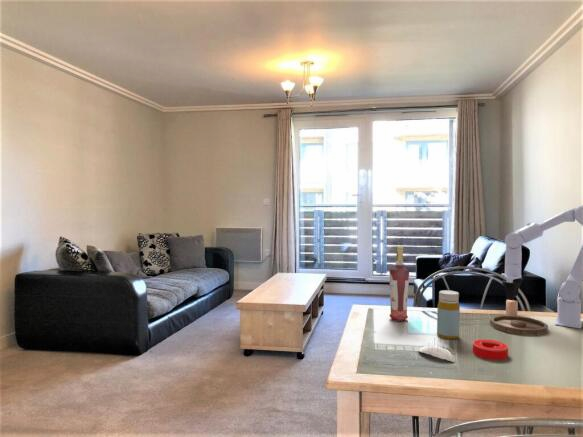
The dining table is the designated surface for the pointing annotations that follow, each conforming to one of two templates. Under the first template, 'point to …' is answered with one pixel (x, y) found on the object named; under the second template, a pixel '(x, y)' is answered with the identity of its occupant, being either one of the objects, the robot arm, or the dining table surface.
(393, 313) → the liquor
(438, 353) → the pincushion
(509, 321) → the groove tray
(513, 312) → the bead
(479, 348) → the decorative ornament
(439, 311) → the bottle
